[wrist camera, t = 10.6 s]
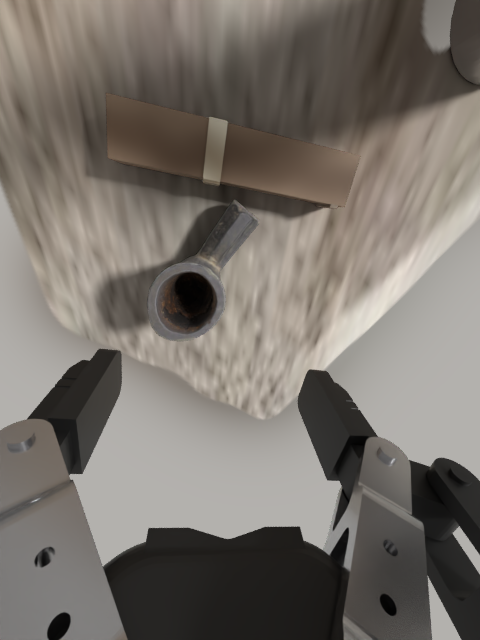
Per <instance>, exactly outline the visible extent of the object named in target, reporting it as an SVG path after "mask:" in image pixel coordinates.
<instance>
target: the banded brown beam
mask: <svg viewBox="0 0 480 640" xmlns="http://www.w3.org/2000/svg"><path fill="white" fill-rule="evenodd" d="M106 116H107V150H108V158H109V159H111V160H114V161H117V162H119V163H122V164H126V165H131V166H136V167H141V168H146V169H151V170H156V171H160V172H165V173H170V174H175V175H180V176H185V177H190V178H194V179H199V180H203V183H204V184H209V185H214V186H219V185H220V184H224V185H228V186H233V187H238V188H243V189H248V190H253V191H258V192H263V193H267V194H272V195H277V196H282V197H287V198H292V199H297V200H301V201H306V202H311V203H316V206H317V207H322V208H334V209H337V208H338V207H345V205H346V202H347V198H348V195H349V192H350V189H351V186H352V183H353V179H354V176H355V173H356V170H357V167H358V164H359V160H360V157H361V156H360V155H356V154H352V153H348V152H344V151H340V150H336V149H332V148H328V147H324V146H320V145H315V144H311V143H307V142H303V141H299V140H295V139H291V138H287V137H283V136H279V135H275V134H271V133H267V132H263V131H259V130H255V129H251V128H247V127H243V126H239V125H235V124H231V123H228V121H226V120H222V119H218V118H214V117H209V118H206V117H202V116H198V115H194V114H190V113H186V112H182V111H178V110H174V109H170V108H166V107H162V106H158V105H154V104H150V103H146V102H142V101H138V100H134V99H130V98H126V97H121V96H117V95H113V94H109V93H106Z"/></svg>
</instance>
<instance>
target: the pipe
mask: <svg viewBox="0 0 480 640" xmlns="http://www.w3.org/2000/svg"><path fill="white" fill-rule="evenodd" d="M258 224H259V220H258V219H257V218H256V217H255V216H254V215H253V214H252V213H250V212H249V211H248V210H247V209H246V208H244V207H243V206H242V205H241V204H240V203H239V202H237V201H236V200H234V201H233V202H232V203H231V204H230V205H229V207H228V208H227V210H226V211H225V213H224V214H223V216H222V217H221V219H220V220H219V222H218V223H217V224H216V226H215V227H214V229H213V230H212V232H211V233H210V235H209V236H208V238H207V240H206V241H205V243H204V244H203V246H202V247H201V249H200V250H199V252H198V253H197V254H196V255H194V256H190V257H188V258H186V259H184V260H183V261H181V262H180V263H178V264H174V265H172V266H170V267H168V268H166V269H165V270H163V271H162V272H161V273H160V274H159V275H158V276H157V278H156V279H155V280H154V282H153V284H152V285H151V287H150V289H149V293H148V299H147V308H148V315H149V319H150V323H151V326H152V328H153V329H154V330H155V332H156V334H158V335H159V336H161V337H163V338H165V339H167V340H172V341H188V340H192V339H194V338H197V337H199V336H201V335H203V334H205V333H206V332H207V331H209V330H210V329H211V328H213V327H214V326H215V325H216V324H217V322H218V321H219V319H220V318H221V316H222V314H223V312H224V309H225V303H226V296H225V290H224V287H223V285H222V282H221V281H220V271H221V269H222V268H223V267H224V266H225V264H226V263H227V262H228V261H229V259H230V258H231V257H232V256H233V254H234V253H235V252H236V251H237V250H238V248H239V247H240V246H241V245H242V244H243V242H244V241H245V240H246V239H247V237H248V236H249V235H250V234H251V233H252V232H253V230H254V229H255V228H256V227H257V226H258Z"/></svg>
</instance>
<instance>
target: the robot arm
mask: <svg viewBox="0 0 480 640" xmlns="http://www.w3.org/2000/svg"><path fill="white" fill-rule="evenodd" d="M450 30H451V31H450V44H451V52H452V56H453V60H454V63H455V65H456V67H457V69H458V71H459V73H460V74H461V75H462V76H463V77H464V78H465V79H466V80H468V81H470V82H472V83H474V84H478V85H480V0H456V2H455V6H454V11H453V15H452V20H451V29H450ZM121 367H122V365H121V351H118V350H108V349H99V350H98V351H97V352H96V354H95V355H94V356H93V358H92V359H91V360H90V361H87V360H82V361H80V362H79V363H77V364H75V365H73V366H72V367H70V368H69V369H68V370H67V372H66V373H65V374H64V375H63V376H62V379H60V380H59V381H58V382H57V384H56V385H55V387H54V388H53V389H52V390H51V391H50V392H49V393H48V395H47V396H46V397H45V398H44V399H43V401H42V402H41V403H40V404H39V405H38V406H37V408H36V409H35V410H34V411H33V412H32V414H31V415H30V416H29V417H28V419H27V420H23V421H19V422H16V423H13V424H11V425H9V426H7V427H5V428H3V429H2V430H0V640H432V634H431V619H430V605H429V592H428V577H427V575H428V576H429V579H430V581H431V583H432V584H433V586H434V588H435V590H436V592H437V594H438V596H439V598H440V599H441V602H442V603H443V605H444V607H445V609H446V611H447V613H448V615H449V617H450V618H451V620H452V622H453V624H454V626H455V628H456V630H457V632H458V634H459V636H460V638H461V639H462V640H480V574H479V573H478V571H477V570H476V568H475V567H474V565H473V564H472V562H471V561H470V559H469V558H468V556H467V555H466V553H465V552H464V551H463V549H462V547H461V546H460V544H459V543H458V541H457V540H456V538H455V537H454V535H453V534H452V533H453V532H454V531H455V530H456V529H457V528H458V527H459V526H460V527H461V529H462V530H463V532H464V533H465V534H466V536H467V537H468V538H469V540H470V541H471V543H472V544H473V546H474V547H475V549H476V550H477V551H478V553H479V554H480V481H479V480H478V479H477V478H476V477H475V476H474V475H473V474H472V473H471V472H470V471H468V470H467V469H466V468H464V467H463V466H461V465H460V464H458V463H456V462H454V461H452V460H449V459H445V458H438V459H436V460H435V461H434V462H433V464H432V465H431V467H429V466H426V465H423V464H420V463H417V462H413V461H410V460H408V458H407V456H406V455H405V454H404V452H403V451H402V450H401V449H400V448H399V447H397V446H396V445H395V444H393V443H392V442H390V441H388V440H386V439H383V438H380V437H378V436H377V435H376V433H375V432H374V430H373V429H372V427H371V426H370V425H369V423H368V422H367V420H366V419H365V417H364V416H363V414H362V413H361V411H360V410H358V407H357V406H356V404H355V403H354V402H353V400H352V398H351V397H350V396H349V394H348V393H347V391H346V390H344V389H343V388H342V387H341V386H339V384H337V383H334V381H333V380H332V378H331V377H330V375H329V373H328V372H327V371H321V370H308V372H307V374H306V376H305V379H304V382H303V385H302V388H301V390H300V393H299V396H298V408H299V412H300V414H301V416H302V419H303V421H304V424H305V426H306V428H307V431H308V434H309V436H310V438H311V441H312V444H313V446H314V449H315V451H316V453H317V456H318V458H319V461H320V463H321V466H322V468H323V471H324V473H325V476H326V478H327V480H332V481H340V483H341V485H342V487H341V489H340V490H339V493H338V497H337V501H336V505H335V509H334V514H333V517H332V521H331V525H330V529H329V534H328V537H327V540H326V543H325V546H324V548H323V550H321V549H320V548H318V547H317V546H314V545H313V544H310V543H308V542H306V541H303V537H302V534H301V530H300V527H264V528H261V529H258V530H255V531H253V532H250V533H247V534H244V535H241V536H238V537H236V538H232V539H224V538H220V537H217V536H214V535H211V534H207V533H204V532H201V531H197V530H194V529H191V528H149V529H148V534H147V539H146V542H144V543H142V544H139V545H136V546H134V547H132V548H130V549H128V550H126V551H124V552H122V553H121V554H119V555H118V556H116V557H115V558H114V559H112V560H111V561H110V562H108V563H107V564H106V565H104V567H103V566H102V563H101V560H100V557H99V554H98V551H97V549H96V545H95V542H94V539H93V536H92V533H91V531H90V528H89V525H88V522H87V519H86V516H85V513H84V510H83V507H82V504H81V501H80V498H79V495H78V492H77V489H76V486H75V484H74V482H73V480H70V477H69V475H70V474H83V471H84V469H85V467H86V465H87V463H88V461H89V459H90V457H91V454H92V452H93V450H94V448H95V446H96V444H97V442H98V439H99V437H100V435H101V433H102V431H103V429H104V427H105V425H106V422H107V420H108V418H109V416H110V414H111V412H112V409H113V407H114V405H115V403H116V401H117V399H118V397H119V394H120V390H121V384H122V371H121V369H122V368H121Z"/></svg>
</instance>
